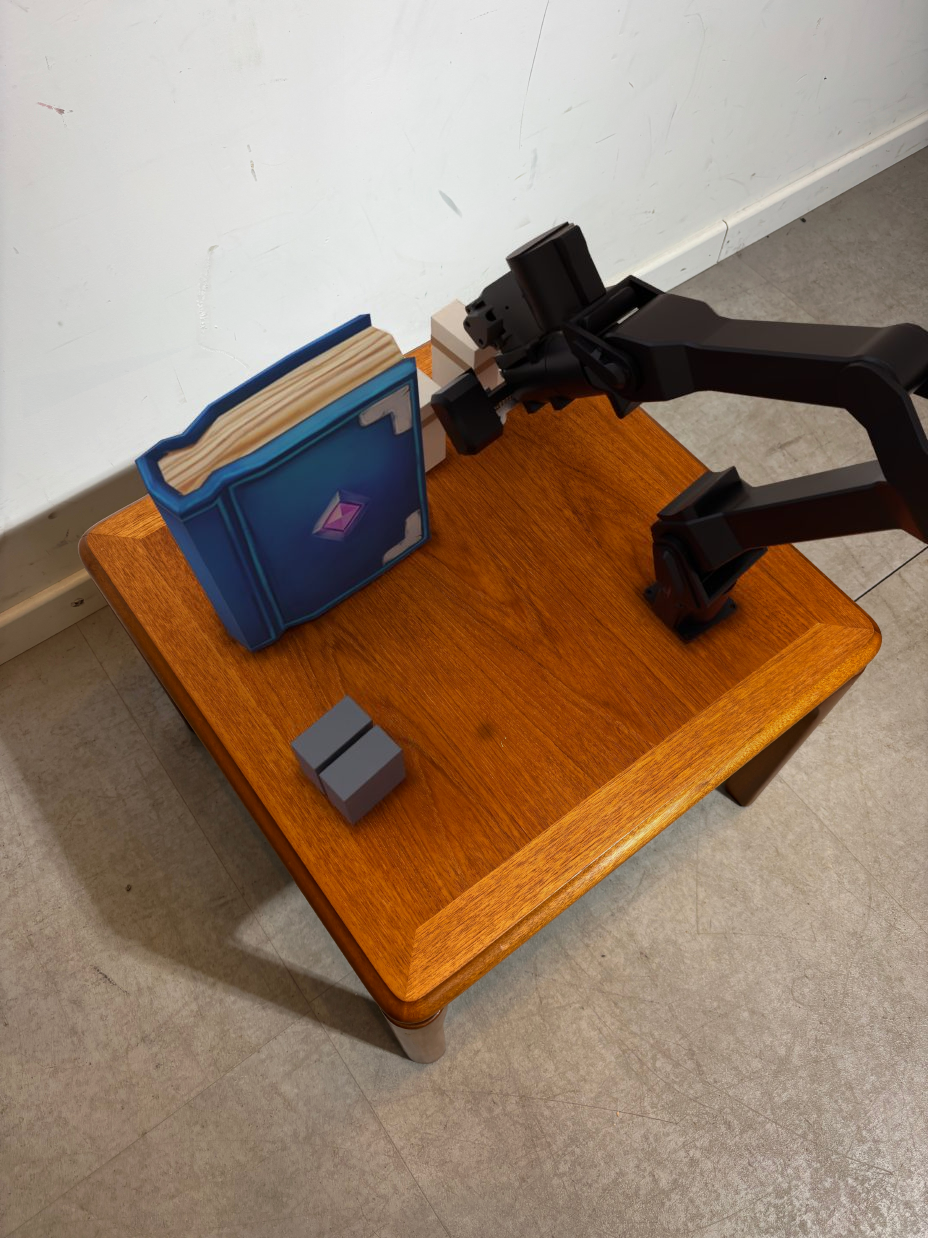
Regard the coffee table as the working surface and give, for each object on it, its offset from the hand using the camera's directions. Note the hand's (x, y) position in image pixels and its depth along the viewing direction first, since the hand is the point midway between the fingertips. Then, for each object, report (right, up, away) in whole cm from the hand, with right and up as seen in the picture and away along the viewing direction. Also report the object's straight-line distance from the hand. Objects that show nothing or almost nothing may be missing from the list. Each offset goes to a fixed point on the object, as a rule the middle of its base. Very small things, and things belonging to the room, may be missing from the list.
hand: (478, 382), depth 88 cm
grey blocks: (-11, -36, -12) cm, 40 cm away
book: (-15, -19, -3) cm, 25 cm away
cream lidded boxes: (-1, -2, +6) cm, 7 cm away
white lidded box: (-2, -2, +6) cm, 7 cm away
